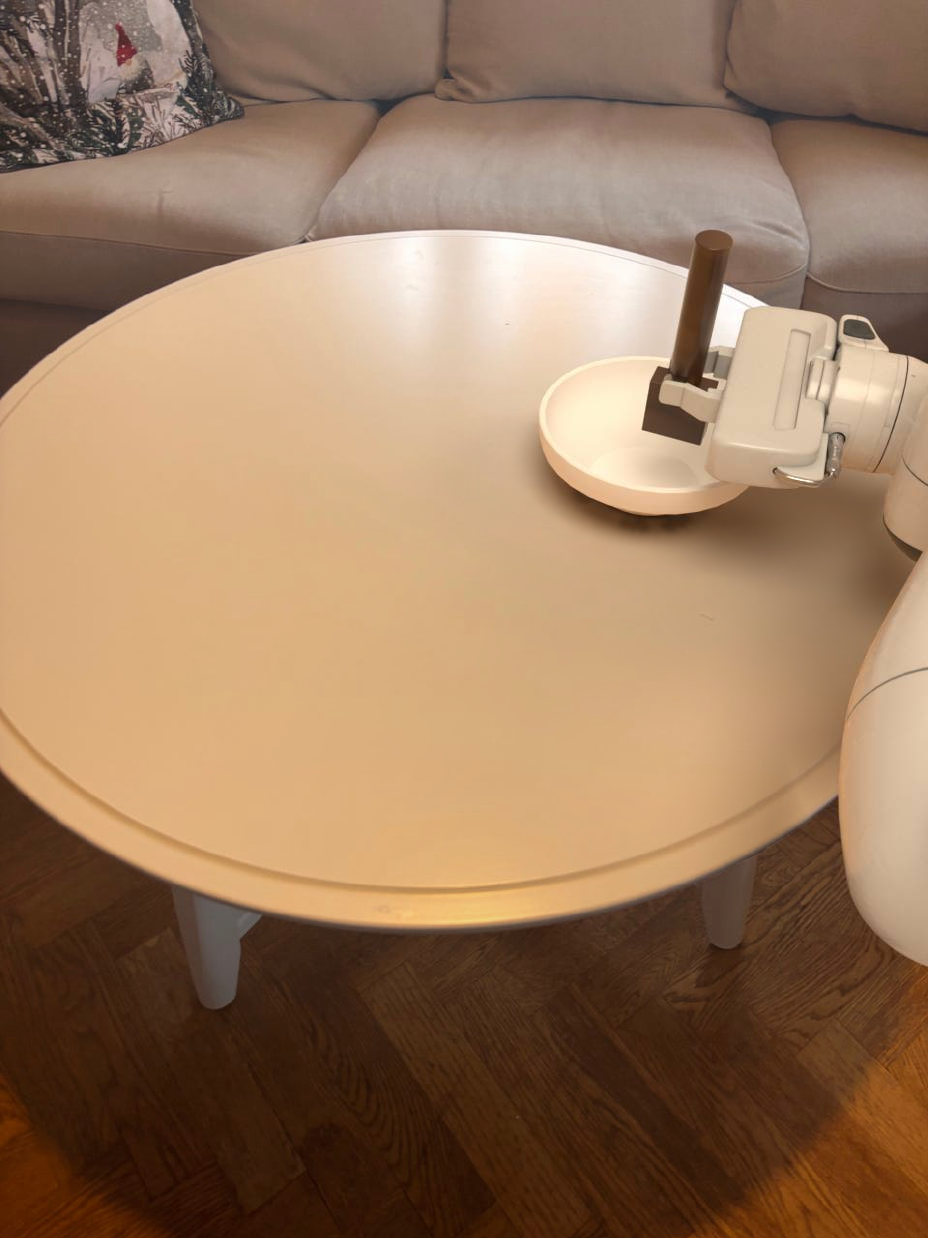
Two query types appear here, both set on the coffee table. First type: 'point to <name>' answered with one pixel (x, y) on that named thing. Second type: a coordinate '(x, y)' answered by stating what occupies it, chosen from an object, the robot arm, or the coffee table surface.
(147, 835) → the coffee table surface
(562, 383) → the bowl
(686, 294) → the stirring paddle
